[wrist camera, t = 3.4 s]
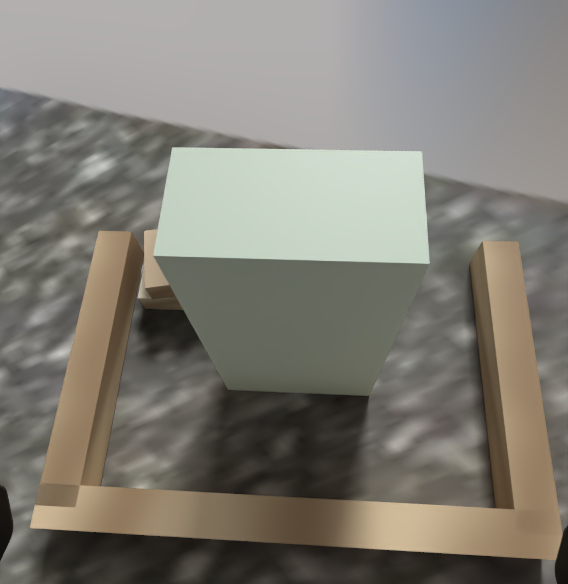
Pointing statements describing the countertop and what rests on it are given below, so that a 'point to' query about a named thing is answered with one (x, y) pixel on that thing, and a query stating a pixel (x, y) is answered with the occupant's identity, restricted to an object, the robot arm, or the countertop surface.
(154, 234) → the offcut stack
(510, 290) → the wooden u-shaped frame
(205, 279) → the pale green rectangular pillar
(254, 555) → the countertop surface
